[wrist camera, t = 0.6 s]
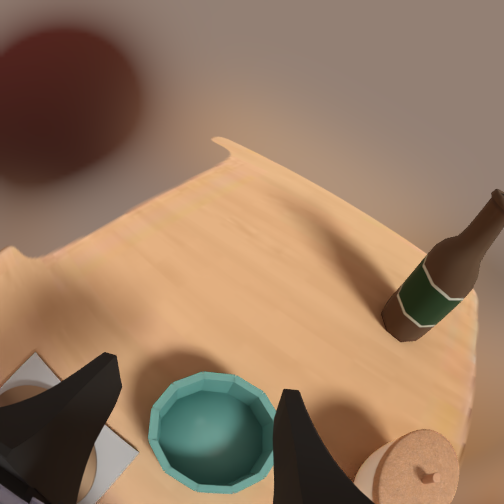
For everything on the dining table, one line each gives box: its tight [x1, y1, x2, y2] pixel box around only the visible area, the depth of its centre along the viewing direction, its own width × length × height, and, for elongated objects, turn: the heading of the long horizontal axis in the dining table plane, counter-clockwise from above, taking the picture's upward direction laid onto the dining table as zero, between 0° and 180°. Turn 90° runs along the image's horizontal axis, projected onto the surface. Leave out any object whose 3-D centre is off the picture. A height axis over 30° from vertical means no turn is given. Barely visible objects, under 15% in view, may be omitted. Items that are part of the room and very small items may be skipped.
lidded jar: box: [354, 429, 459, 504], centre depth 19 cm, size 11×11×9 cm
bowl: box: [148, 371, 276, 494], centre depth 23 cm, size 11×11×4 cm
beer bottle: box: [382, 189, 504, 342], centre depth 31 cm, size 8×8×24 cm
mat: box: [0, 352, 139, 504], centre depth 18 cm, size 15×15×1 cm
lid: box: [0, 385, 97, 504], centre depth 16 cm, size 13×13×4 cm
